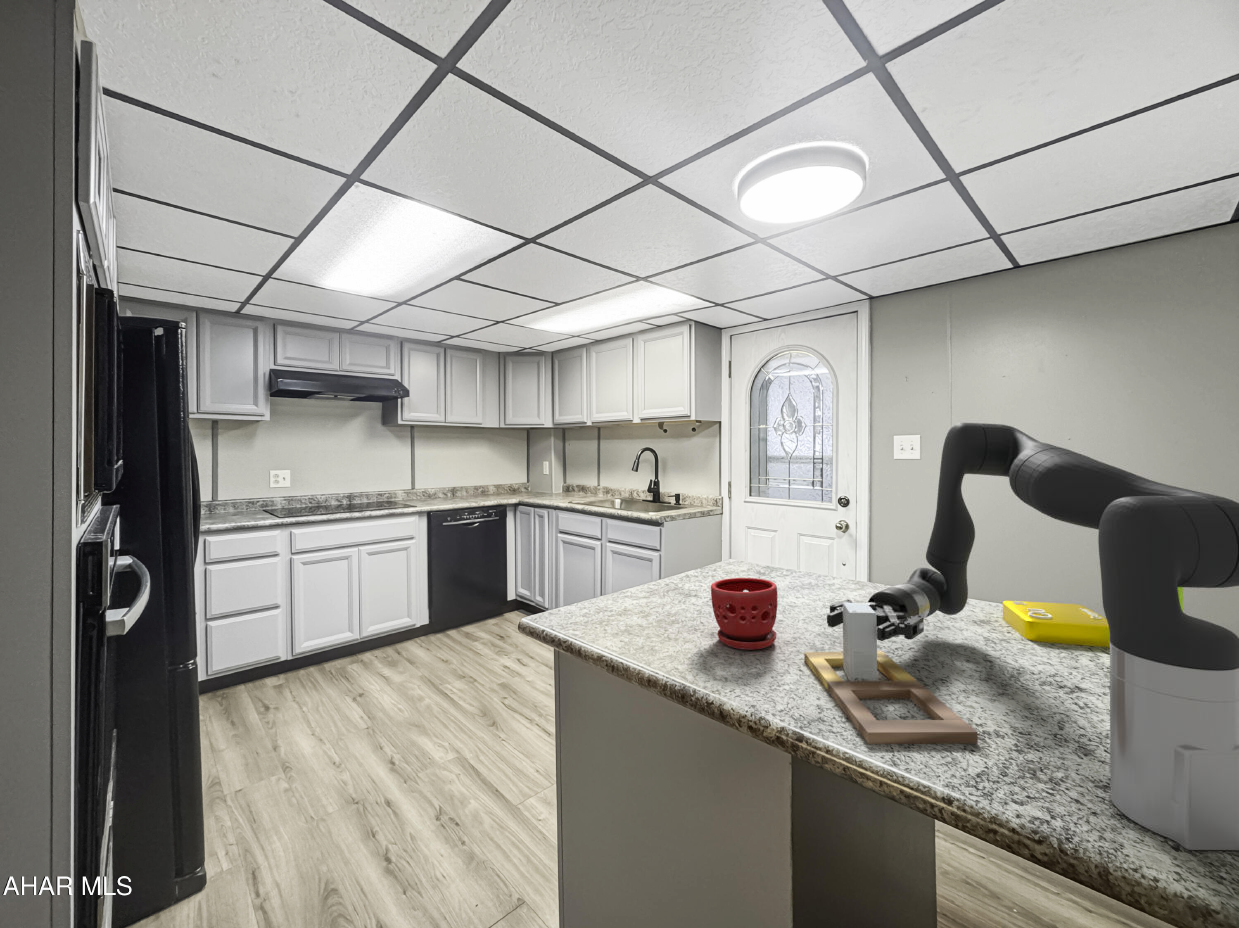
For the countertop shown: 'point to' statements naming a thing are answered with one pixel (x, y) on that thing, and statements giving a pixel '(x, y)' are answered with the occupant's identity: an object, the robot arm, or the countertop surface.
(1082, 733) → the countertop surface
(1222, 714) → the robot arm
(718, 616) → the plant pot
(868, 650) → the skincare box
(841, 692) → the double wooden frame
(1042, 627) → the element tile
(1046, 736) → the countertop surface
